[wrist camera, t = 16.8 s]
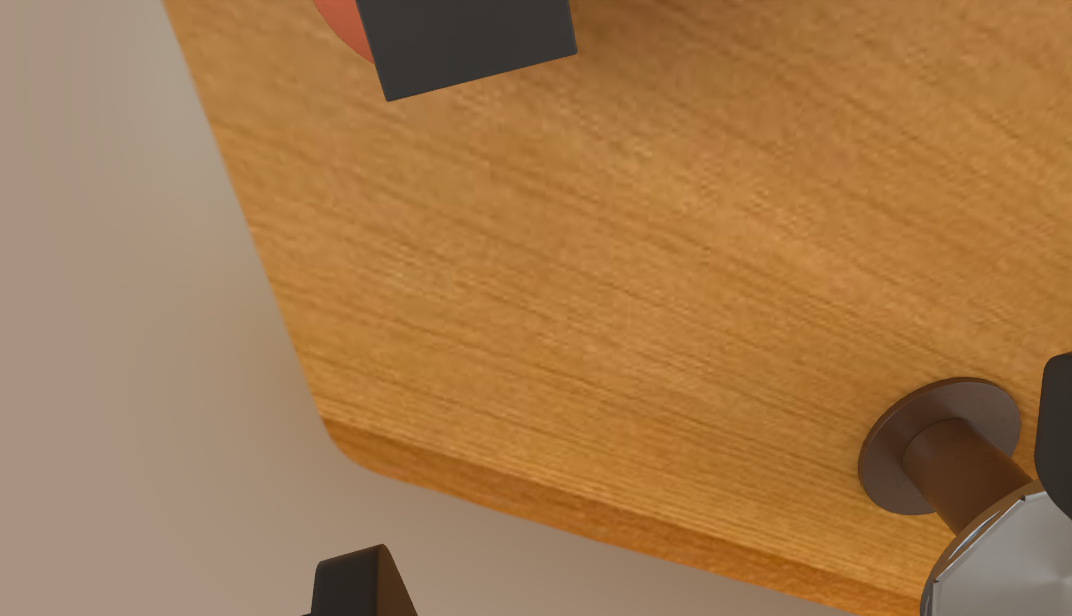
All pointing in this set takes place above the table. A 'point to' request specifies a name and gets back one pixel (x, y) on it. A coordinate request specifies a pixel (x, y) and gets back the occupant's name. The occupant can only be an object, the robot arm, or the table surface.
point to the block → (461, 40)
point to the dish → (972, 501)
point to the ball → (346, 24)
